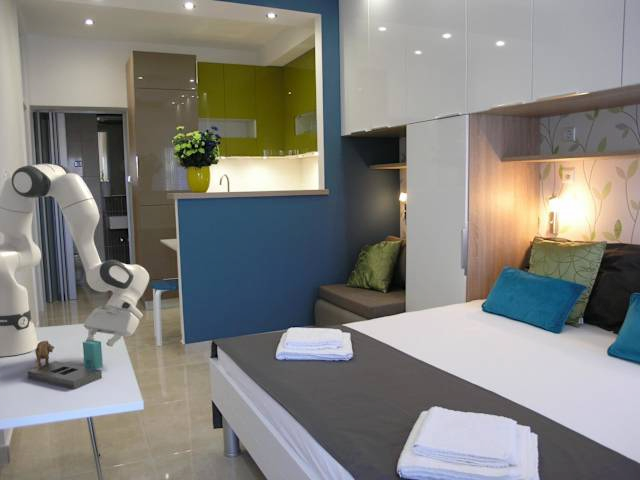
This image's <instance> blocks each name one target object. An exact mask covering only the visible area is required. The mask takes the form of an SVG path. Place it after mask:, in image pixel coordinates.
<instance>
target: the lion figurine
mask: <svg viewBox="0 0 640 480" xmlns="http://www.w3.org/2000/svg"><path fill="white" fill-rule="evenodd" d="M39 342H40V343H38V345H37V348H36V349H35V350H34V351H35V352H34V353H35V355H36V361H35V362H36V363H37V366H36V368H37V367H40V366H43V364H42V361H41V360H44V361H45V363H44V365H46V364H49V363H50V362H49V358H50V356H49V355H50V353H53V352H54V349H55V346H53V345H52V344H51V343H49V341H48V340H43V341H39Z"/></svg>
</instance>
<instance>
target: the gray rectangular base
mask: <svg viewBox="0 0 640 480" xmlns="http://www.w3.org/2000/svg"><path fill="white" fill-rule="evenodd" d="M102 378H103V376H102V369H93V367H89V368H88V367H85V366H82V365H77V364H73V363H67V362H63V361H57V360H54V361H51V362H49V364H42V366H40V367H37V366H36V367H35V368H32V369H29V370H27V379H29V380H31V379H32V381H36V382H41V383H45V384H50V385H54V386H57V387H58V386H59V387H62V388H67V389H71V390H76V389H78V388H81V387H83V386H86V385H89V384H91V383H93V382H95V381H98V380H100V379H102Z"/></svg>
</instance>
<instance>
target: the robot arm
mask: <svg viewBox="0 0 640 480" xmlns="http://www.w3.org/2000/svg"><path fill="white" fill-rule="evenodd" d="M45 197H52V198H54V199H55V201H56V202H57V204H58V206H59V209H60V211H61V213H62V216H63V218H64V219H65V222H66V224H67V227H68V229H69V232H70V235H71V238H72V242H73V244H74V248H75V250H76V254H77V255H78V260H79V261H80V263H81V267H82V270H83V271H82V272H83V283H84V286H85V288H86V290H88V291H89V292H90V293H92V294H94V295H98V296H99V295H104V294H107V293H109V292H110V291H111V292H112V295H111V296H110V298H109V299H108V301H107V303H106V304H105V306H103V305H100V306H99V307H96V308H95V309H93V311H91V313H90V314H89V315H88V317H87V318H86V320H85V321H84V323H83V327H84V328H85V329H86V330H88V331H87V333H88V334H87V335H88V336H87V338H86V340H85V341H88V340H94V341H95V338H94V335H96V334H97V333H101V334H107V335H112V337H111V338H108V339H107V342H106V345H107V346H108V347H112V348H113V346H114V345H115V343H116V342H118V341H119V340H120V339H121V338H122V337H131V336H132V335H133V334H134V333H135V331H136V330H137V327H138V325H140V320H141V319H142V318H143V317H144V315H143V313H142V312H141V311H140V310H139V308H137V304H138V301H139V300H140V298H142V296H143V294H144V293H145V290H146V289H147V287H148V284H149V282H150V274H149V272H148V271H147V269H146V268H145V267H143V266H141V265H140V264H129V263H128V264H126V263H123V262H121V261H119V260H117V259H108V260H105V261H103V262H102V261H101V259H100V256H99V253H98V249H97V247H96V244H95V240H94V237H95V230H96V228H97V225H98V224H99V221H100V217H101V215H100V213H99V212H100V211H99V208H98V205H97V203H96V200H95V199H94V196H93V194H92V193H91V190H90V188H89V187H88V186H87V184H86V182H85V181H84V179H83V178H82V177H81V176H80V175H79V174H77V173H73V172H71V171H70V169H68V168H67V167H66V166H64V165H62V164H58V163H38V164H33V165H24V166H21V167H20V168H17V169H16V170H15V171H14V172H13V173H12V175H11V176H9V177H8V178H7V179H6V180H5V182H4V184H3V186H2V189H1V191H0V233H1V234H2V235H3V236H4V237H3V238H4V239H3V243H2V244H0V357H1V358H2V357H10V356H17V355H23V354H27V353H30V352H32V351H36V348H37V345H38V343H40V342H41V341H40V340H38V339H37V334H36V328H35V327H36V326H35V324H34V323H33V322H32V321H31V320H32V312H31V309H30V305H29V293H28V289H27V287H25V286H24V285H22V284H19V282H17V280H16V277H15V274H17V273H21V272H26V271H28V270H31V269H33V268H35V267H36V266H38V265H39V264H40V263H41V260H42V252H41V249H40V247H39V246H38V244H36V243H35V242H34V240H33V237H32V222H33V217H34V210H35V206H36V205H35V204H36V200H37V198H45Z"/></svg>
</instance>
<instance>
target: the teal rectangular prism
mask: <svg viewBox="0 0 640 480" xmlns="http://www.w3.org/2000/svg"><path fill="white" fill-rule="evenodd" d="M82 350H83V353H82V354H83V363H84V366H83V367H88V368H93V369H98V370H100V369H101V368H103V367H104V366H103V364H104V363H103V362H104V361H103V353H102V352H103V351H102V341H100V340H95V339H94V340H88V341H86V340H85V341H83V342H82Z"/></svg>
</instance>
